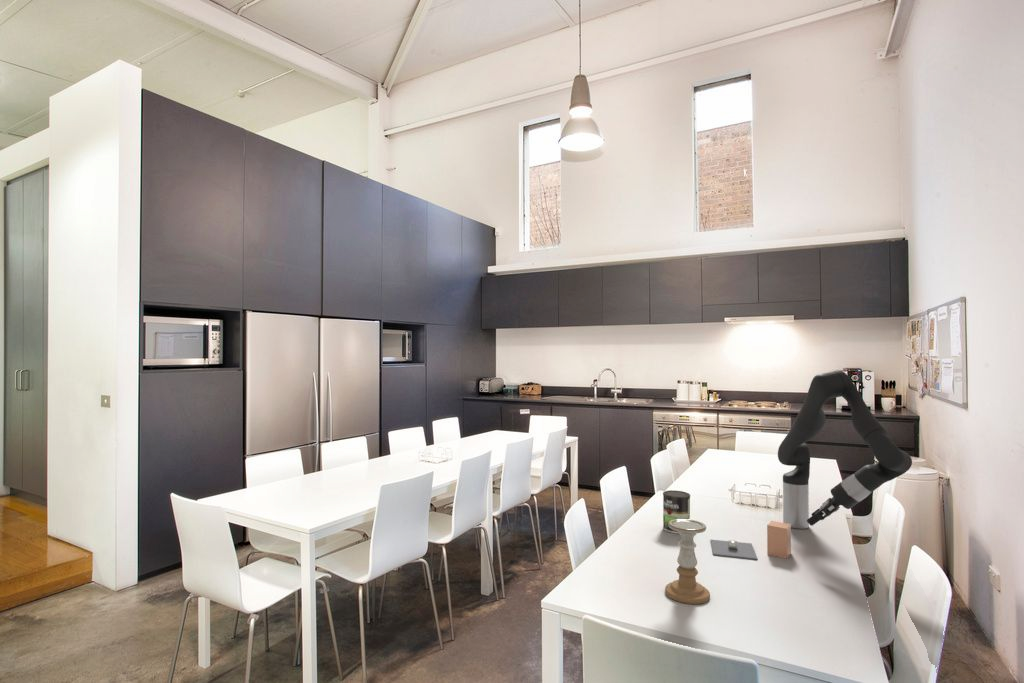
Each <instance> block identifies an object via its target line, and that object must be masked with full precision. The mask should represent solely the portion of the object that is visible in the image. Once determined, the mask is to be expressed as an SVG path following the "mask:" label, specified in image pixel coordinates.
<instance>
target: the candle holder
mask: <svg viewBox="0 0 1024 683" xmlns="http://www.w3.org/2000/svg"><path fill="white" fill-rule="evenodd" d="M668 526H669V527H670V528H671V529H673V530H675V531H678V533H679V535H680V540H679V541H678V543H677V545H678V546H679V552H678V555H677V559H676V562H677V563H678V566H677V567H676V572H677V573H678V579H676V580H673V581H671V582H669V583H667V584H666V585H665V587H664V592H665V595H666V596H667V597H668V598H670V599H671V600H674V601H675V602H679V603H682V604H687V605H700V604H705V603H707V602H708V601H710V598H711V592H710V591H709V590H708V589H707V588H706V587H705V586H704V585H702V584H701V583H699V582H697V580H696V576H697V575H698V574H699V571H698V569H697V568H696V566H697V565H698V559H697V557H696V553H695V549H696V547H697V543H696V542H695V541H694V539H695V536H696V535H698V534H702V533H704V532H706V530H707V525H706V524H705V523H703V522H701V521H698V520H696V519H695V520H694V519H674V520H671V521H669V523H668Z"/></svg>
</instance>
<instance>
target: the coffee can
mask: <svg viewBox="0 0 1024 683" xmlns="http://www.w3.org/2000/svg"><path fill="white" fill-rule="evenodd" d="M662 496H663V498H662V501H663V505H662V507H663V510H662V511H663V514H662V515H663V516H662V518H663V520H662V522H663V523H662V524H663V525H662V529H663V531H665V532H668V533H671V534H675V535H676V534H677V535H678V534H679V533H678V531H675V530H673V529H671V528H670V527H669V526H668V523H669V521H671V520H674V519H690V518H691V494H690V493H689V492H686V491H684V490H683V491H682V490H672V489H671V490H664V491H663V492H662ZM690 520H691V519H690ZM679 535H680V534H679Z"/></svg>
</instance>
